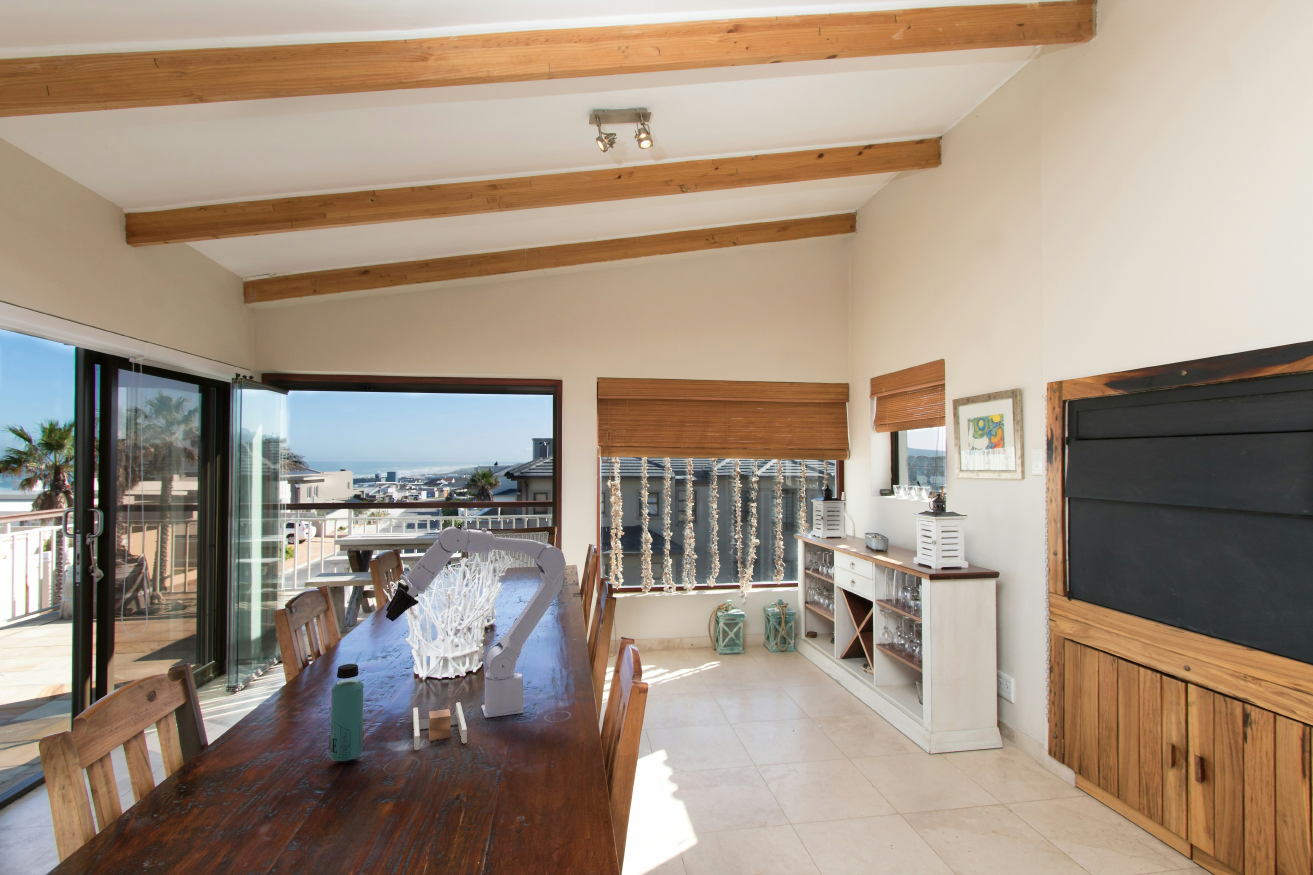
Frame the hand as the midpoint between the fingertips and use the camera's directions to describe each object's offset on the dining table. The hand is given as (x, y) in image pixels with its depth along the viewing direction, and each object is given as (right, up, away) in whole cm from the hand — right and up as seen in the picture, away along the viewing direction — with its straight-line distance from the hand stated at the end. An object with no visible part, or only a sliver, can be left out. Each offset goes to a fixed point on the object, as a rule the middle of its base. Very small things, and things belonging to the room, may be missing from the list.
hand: (389, 615), depth 157 cm
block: (+14, -26, -6) cm, 30 cm away
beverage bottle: (-1, -25, -20) cm, 32 cm away
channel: (+13, -26, -4) cm, 29 cm away
